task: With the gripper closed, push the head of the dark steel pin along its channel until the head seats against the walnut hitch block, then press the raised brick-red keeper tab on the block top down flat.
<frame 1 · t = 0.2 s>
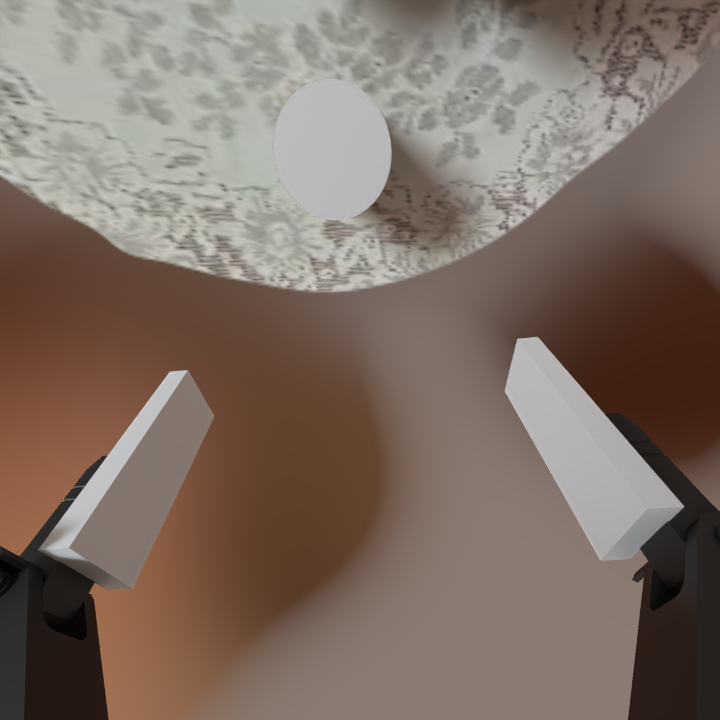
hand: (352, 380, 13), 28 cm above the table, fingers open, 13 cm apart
cup: (339, 147, 31), on the table
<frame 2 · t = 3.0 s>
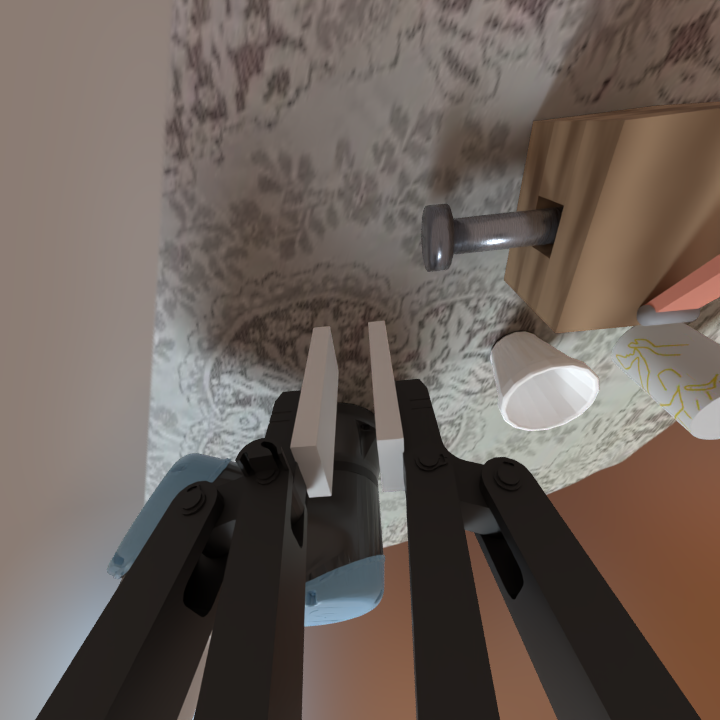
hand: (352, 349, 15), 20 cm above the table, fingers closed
cup 2: (513, 349, 40), on the table
cup: (645, 343, 40), on the table
hitch pin: (514, 230, 26), point 6 cm above the table, slide at 8.0 cm
hitch block: (569, 205, 30), on the table
keeper tab: (706, 290, 21), point 13 cm above the table, hinge at 31.4°
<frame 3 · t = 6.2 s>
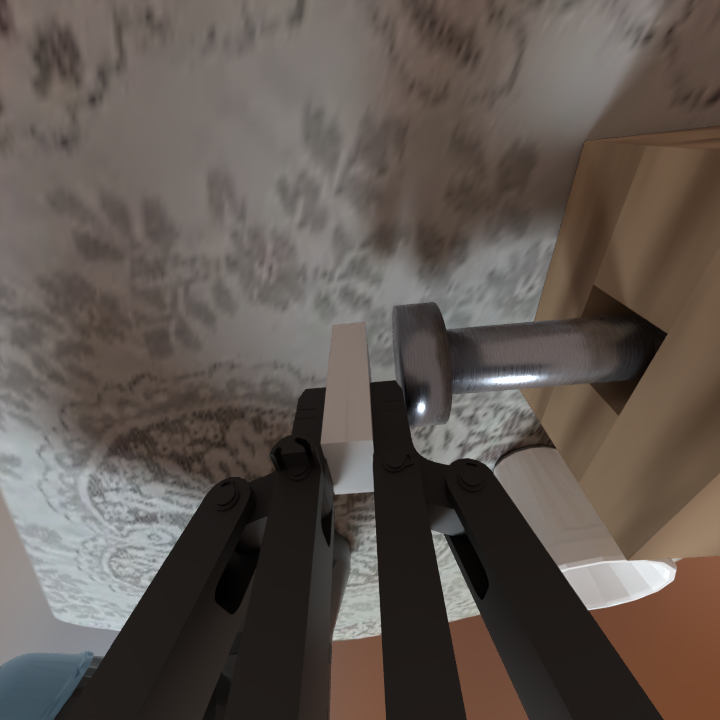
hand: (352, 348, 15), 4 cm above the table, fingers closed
cup 2: (526, 463, 28), on the table
hitch pin: (571, 351, 13), point 5 cm above the table, slide at 7.0 cm, touching gripper
hitch block: (633, 283, 17), on the table
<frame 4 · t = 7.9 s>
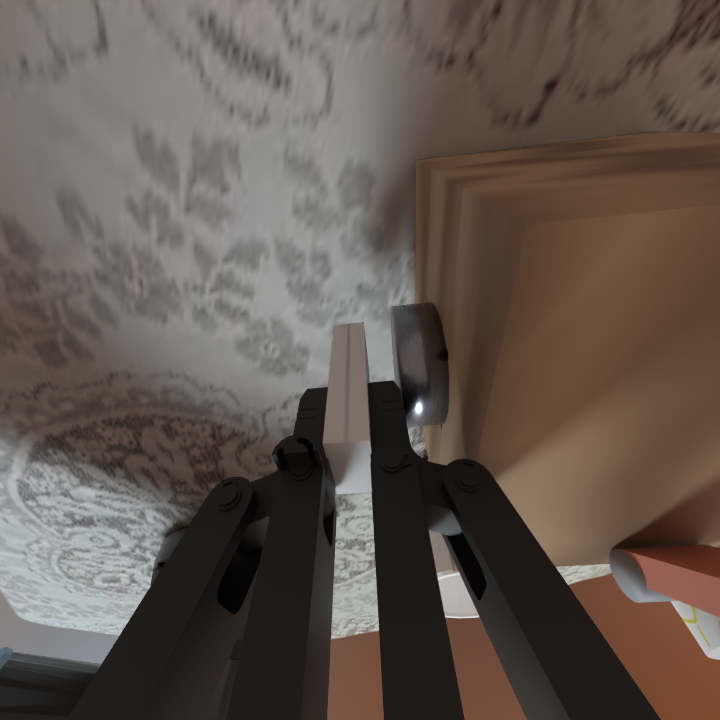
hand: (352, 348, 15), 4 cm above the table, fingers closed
cup 2: (446, 469, 28), on the table
cup: (637, 462, 28), on the table
hitch pin: (570, 351, 13), point 5 cm above the table, slide at -0.1 cm, touching gripper, hitch block
hitch block: (503, 295, 18), on the table
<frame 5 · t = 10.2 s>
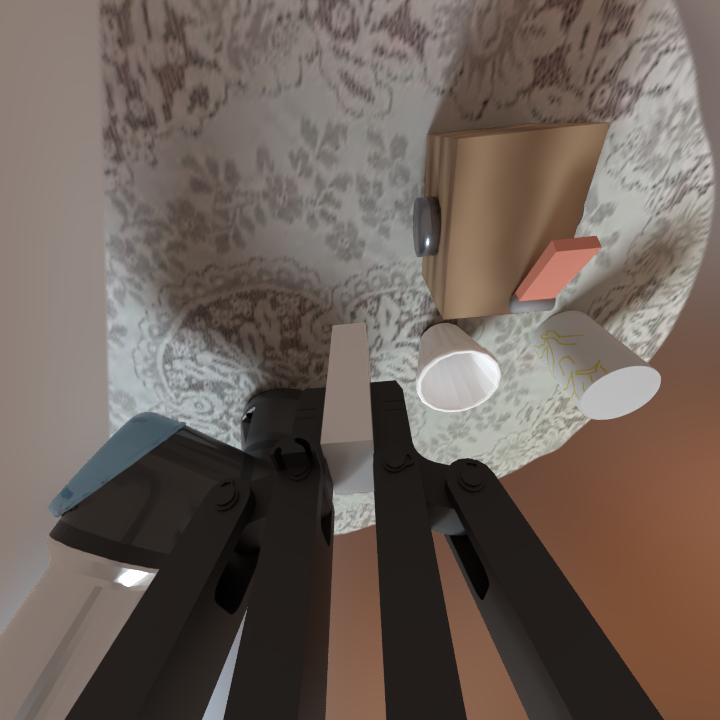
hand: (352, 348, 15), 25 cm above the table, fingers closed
cup 2: (440, 339, 44), on the table
cup: (560, 335, 44), on the table
hitch pin: (494, 220, 29), point 5 cm above the table, slide at 0.0 cm
hitch block: (470, 209, 34), on the table
keeper tab: (549, 281, 25), point 13 cm above the table, hinge at 31.4°
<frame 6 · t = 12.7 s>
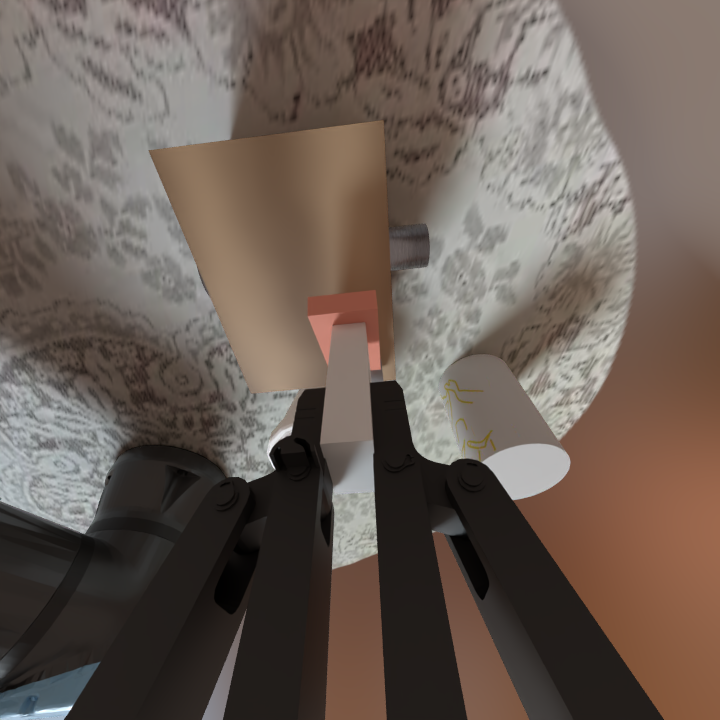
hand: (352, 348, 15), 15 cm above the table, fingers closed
cup 2: (327, 389, 36), on the table
cup: (473, 381, 36), on the table
hitch pin: (319, 257, 22), point 6 cm above the table, slide at 0.0 cm
hitch block: (317, 237, 26), on the table
keeper tab: (351, 351, 17), point 13 cm above the table, hinge at 27.3°, touching gripper
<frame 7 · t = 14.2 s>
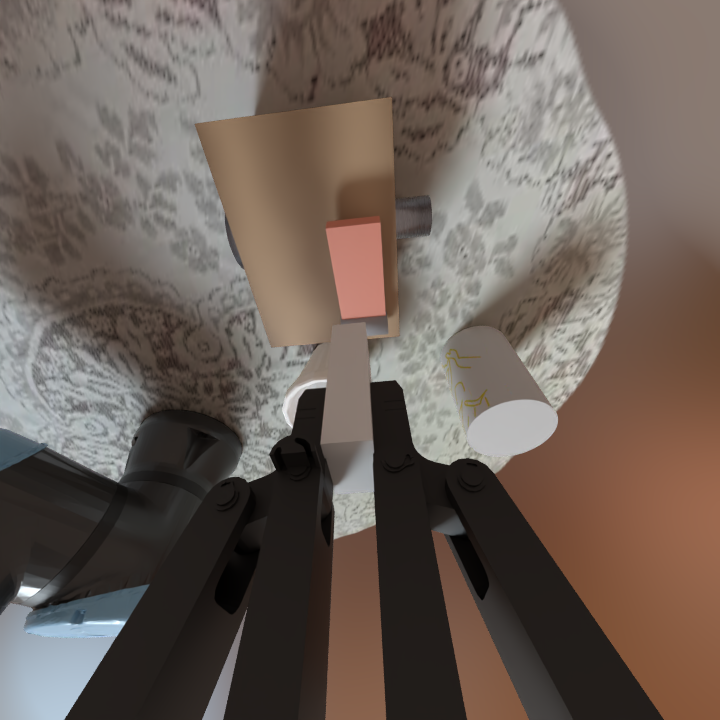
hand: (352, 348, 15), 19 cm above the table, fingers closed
cup 2: (336, 357, 39), on the table
cup: (473, 352, 39), on the table
hitch pin: (333, 226, 24), point 5 cm above the table, slide at 0.0 cm
hitch block: (330, 210, 28), on the table
keeper tab: (360, 286, 20), point 12 cm above the table, hinge at 6.7°
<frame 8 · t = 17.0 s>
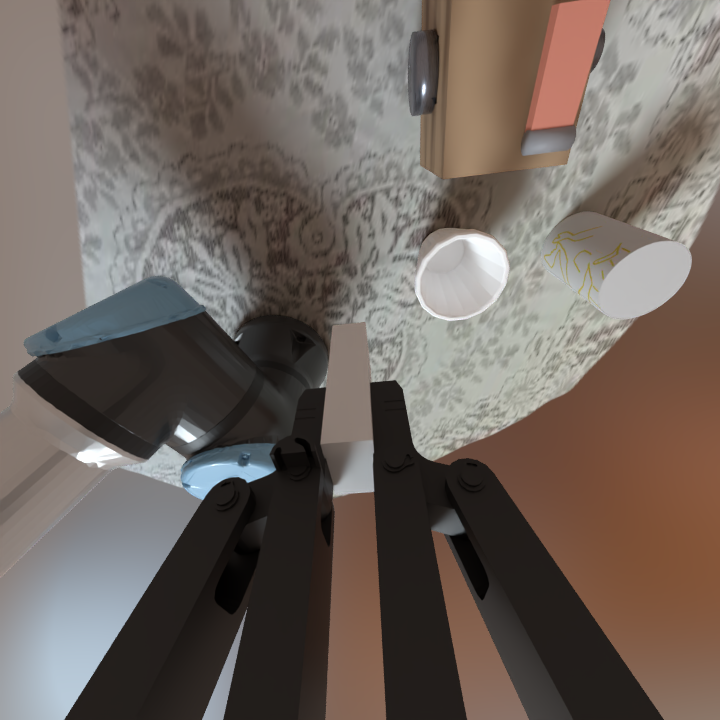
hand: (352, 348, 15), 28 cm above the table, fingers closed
cup 2: (441, 251, 41), on the table
cup: (573, 244, 40), on the table
hitch pin: (501, 64, 26), point 6 cm above the table, slide at 0.0 cm
hitch block: (473, 74, 30), on the table
keeper tab: (561, 86, 21), point 12 cm above the table, hinge at 6.3°
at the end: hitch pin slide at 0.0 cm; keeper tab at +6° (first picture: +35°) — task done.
